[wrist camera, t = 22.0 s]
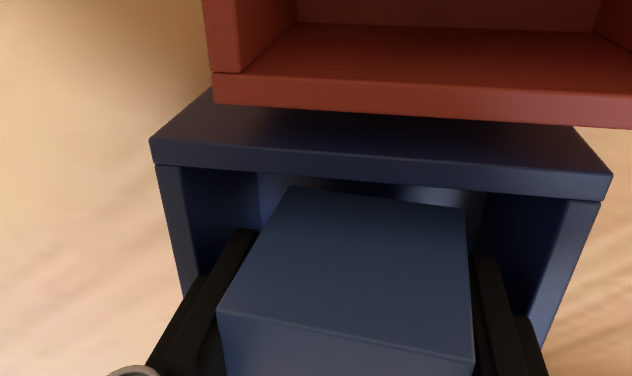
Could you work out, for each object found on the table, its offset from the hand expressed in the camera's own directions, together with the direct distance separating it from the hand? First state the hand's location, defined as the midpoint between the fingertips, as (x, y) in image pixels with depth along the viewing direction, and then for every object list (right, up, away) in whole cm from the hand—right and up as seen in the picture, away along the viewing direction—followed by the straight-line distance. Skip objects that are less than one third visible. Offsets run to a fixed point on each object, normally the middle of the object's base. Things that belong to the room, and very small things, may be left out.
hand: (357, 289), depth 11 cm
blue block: (0, +1, +1) cm, 1 cm away
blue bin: (+1, +2, +4) cm, 5 cm away
